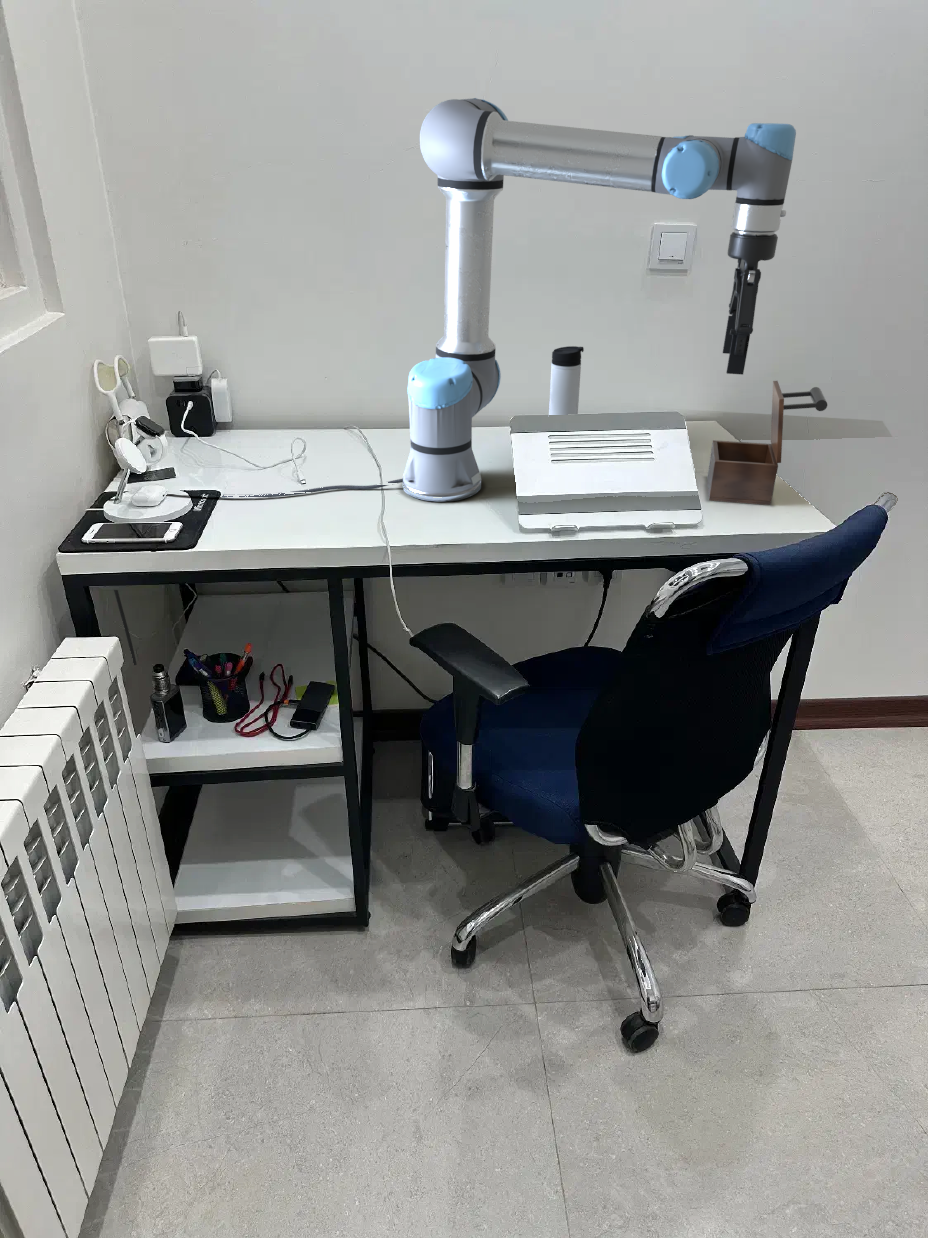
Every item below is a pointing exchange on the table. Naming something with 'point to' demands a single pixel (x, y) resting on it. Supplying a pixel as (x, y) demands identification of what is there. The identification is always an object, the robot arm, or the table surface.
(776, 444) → the lid
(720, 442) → the desk box
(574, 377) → the travel mug
